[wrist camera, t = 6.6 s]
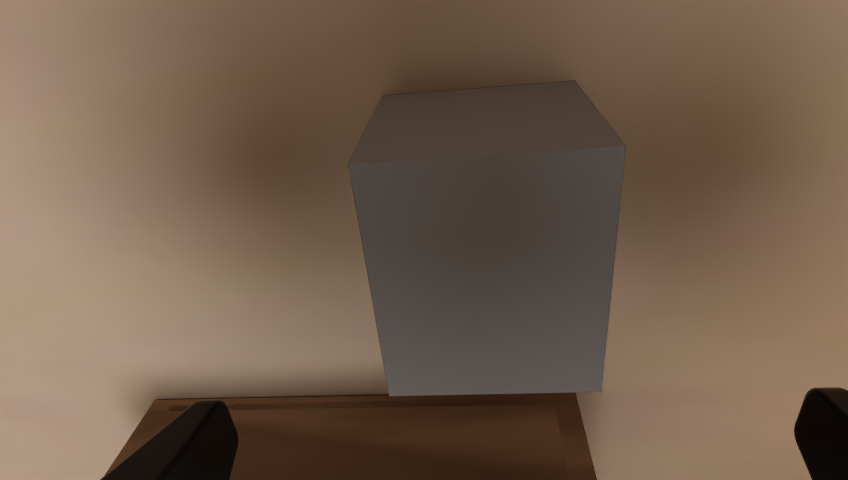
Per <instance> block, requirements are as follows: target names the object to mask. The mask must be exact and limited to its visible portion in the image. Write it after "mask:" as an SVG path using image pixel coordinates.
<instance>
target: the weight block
mask: <svg viewBox="0 0 848 480" xmlns="http://www.w3.org/2000/svg"><path fill="white" fill-rule="evenodd" d="M625 150H626V145H625V144H624V143H623V142H622V140H621V139H620V138H619V136H618V135H617V134H616V133H615V131H614V130H613V129H612V128H611V126H610V125H609V124H608V122H607V121H606V120H605V119H604V117H603V116H602V115H601V114H600V112H599V111H598V110H597V108H596V107H595V106H594V105H593V103H592V102H591V101H590V100H589V98H588V97H587V96H586V94H585V93H584V92H583V91H582V89H581V88H580V87H579V86H578V84H577V83H576V82H575V80H574V81H561V82H548V83H536V84H523V85H511V86H498V87H486V88H473V89H460V90H448V91H435V92H423V93H410V94H398V95H385V96H382V98H381V100H380V102H379V104H378V106H377V108H376V110H375V112H374V114H373V116H372V118H371V120H370V122H369V124H368V126H367V128H366V130H365V132H364V134H363V136H362V138H361V140H360V142H359V144H358V146H357V148H356V150H355V152H354V154H353V156H352V158H351V160H350V162H349V164H348V167H349V172H350V178H351V184H352V189H353V195H354V201H355V206H356V212H357V218H358V223H359V229H360V234H361V240H362V246H363V251H364V257H365V263H366V268H367V274H368V280H369V285H370V291H371V297H372V302H373V308H374V314H375V319H376V325H377V331H378V336H379V342H380V347H381V353H382V359H383V364H384V370H385V376H386V381H387V387H388V393H389V396H424V395H474V394H524V393H574V392H601V389H602V379H603V369H604V359H605V349H606V339H607V329H608V319H609V310H610V300H611V290H612V280H613V270H614V260H615V250H616V240H617V230H618V220H619V210H620V200H621V190H622V180H623V170H624V160H625Z"/></svg>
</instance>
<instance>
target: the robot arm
mask: <svg viewBox="0 0 848 480" xmlns="http://www.w3.org/2000/svg"><path fill="white" fill-rule="evenodd" d="M794 433H795V439H796V442H797V445H798V447H799V450H800V452H801V454H802V457H803V459H804V462H805V464H806V466H807V469H808V471H809V473H810V476H811V478H812V480H848V391H847V390H845V389H843V388H813V389H811V390H809V391H808V392H807V394H806V396H805V398H804V401H803V404H802V407H801V409H800V412H799V415H798V418H797V420H796V423H795V428H794ZM237 448H238V433H237V430H236V427H235V425H234V422H233V420H232V417H231V414H230V412H229V409H228V407H227V405H226V403H225V402H224V401H223V400H219V399H218V400H199V401H197V402H195V403H194V404H192V405H191V406H190V407H189V408H187V409H186V410H185V411H184V412H183V413H181V414H180V415H179V416H178V417H176V418H175V419H174V420H173V421H171V422H170V423H169V424H168V425H167V426H165V427H164V428H163V429H162V430H160V431H159V432H158V433H157V434H156V435H154V436H153V437H152V438H151V439H149V440H148V441H147V442H146V443H145V444H143V445H142V446H141V447H140V448H138V449H137V450H136V451H135V452H133V453H132V454H131V455H130V456H129V457H127V458H126V459H125V460H124V461H122V462H121V463H120V464H119V465H118V466H116V467H115V468H114V469H113V470H111V471H110V472H109V473H108V474H106V475H105V476H104V477H103V478H102V479H100V480H230V476H231V472H232V468H233V464H234V460H235V456H236V452H237Z"/></svg>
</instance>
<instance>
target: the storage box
mask: <svg viewBox="0 0 848 480" xmlns="http://www.w3.org/2000/svg"><path fill="white" fill-rule="evenodd" d="M199 400H218V399H174V400H155V401H154V402H153V404H152V405H151V407H150V408H149V410H148V411H147V413H146V414H145V416H144V417H143V419H142V420H141V422H140V423H139V425H138V426H137V428H136V429H135V431H134V432H133V434H132V435H131V437H130V438H129V440H128V441H127V443H126V444H125V446H124V447H123V449H122V450H121V452H120V453H119V455H118V456H117V458H116V459H115V461H114V462H113V464H112V465H111V467H110V468H109V470H108V471H107V473H106V474H108V473H109V472H110V471H111V470H113V469H114V468H115V467H116V466H118V465H119V464H120V463H121V462H122V461H124V460H125V459H126V458H127V457H129V456H130V455H131V454H132V453H133V452H135V451H136V450H137V449H138V448H140V447H141V446H142V445H143V444H145V443H146V442H147V441H148V440H149V439H151V438H152V437H153V436H154V435H156V434H157V433H158V432H159V431H160V430H162V429H163V428H164V427H165V426H167V425H168V424H169V423H170V422H171V421H173V420H174V419H175V418H176V417H178V416H179V415H180V414H181V413H183V412H184V411H185V410H186V409H187V408H189V407H190V406H191V405H192V404H194V403H195V402H197V401H199ZM219 400H223V401H224V402H225V403H226V405H227V407H228V409H229V412H230V414H231V417H232V420H233V422H234V425H235V427H236V430H237V433H238V448H237V452H236V456H235V460H234V464H233V468H232V472H231V476H230V480H597V479H596V474H595V470H594V466H593V462H592V458H591V454H590V450H589V446H588V442H587V438H586V434H585V430H584V426H583V422H582V418H581V414H580V410H579V406H578V402H577V398H576V394H575V392H574V393H524V394H474V395H424V396H389V395H363V396H316V397H268V398H221V399H219ZM106 474H105V475H106Z"/></svg>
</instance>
